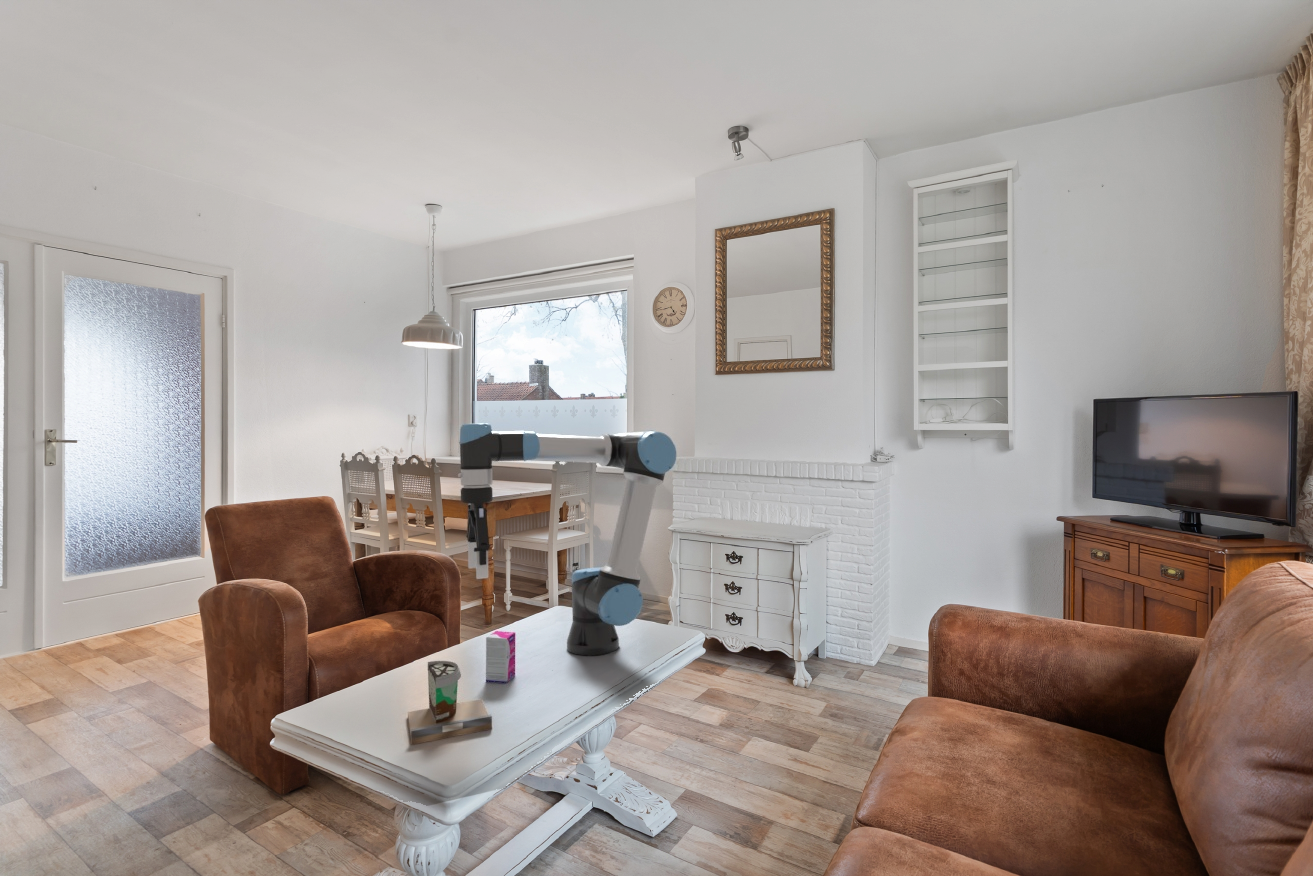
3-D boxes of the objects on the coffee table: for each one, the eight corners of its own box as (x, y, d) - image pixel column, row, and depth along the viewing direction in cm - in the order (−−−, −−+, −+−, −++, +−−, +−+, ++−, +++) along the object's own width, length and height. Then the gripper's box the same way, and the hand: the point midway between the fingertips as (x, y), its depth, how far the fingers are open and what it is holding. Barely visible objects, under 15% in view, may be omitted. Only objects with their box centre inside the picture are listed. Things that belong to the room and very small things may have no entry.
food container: (466, 719, 139) (465, 673, 139) (436, 726, 136) (436, 678, 136) (456, 699, 150) (455, 656, 150) (428, 705, 147) (427, 661, 147)
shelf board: (481, 704, 150) (481, 692, 150) (492, 729, 137) (491, 716, 137) (407, 717, 143) (407, 705, 143) (411, 745, 130) (411, 731, 130)
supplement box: (507, 684, 162) (506, 638, 162) (485, 682, 163) (484, 637, 163) (516, 675, 168) (515, 631, 168) (495, 674, 169) (494, 630, 169)
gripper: (454, 483, 168) (456, 565, 168) (467, 490, 145) (469, 584, 145) (484, 482, 171) (485, 562, 171) (501, 489, 148) (503, 581, 148)
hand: (478, 573), depth 158 cm, fingers open, 13 cm apart
